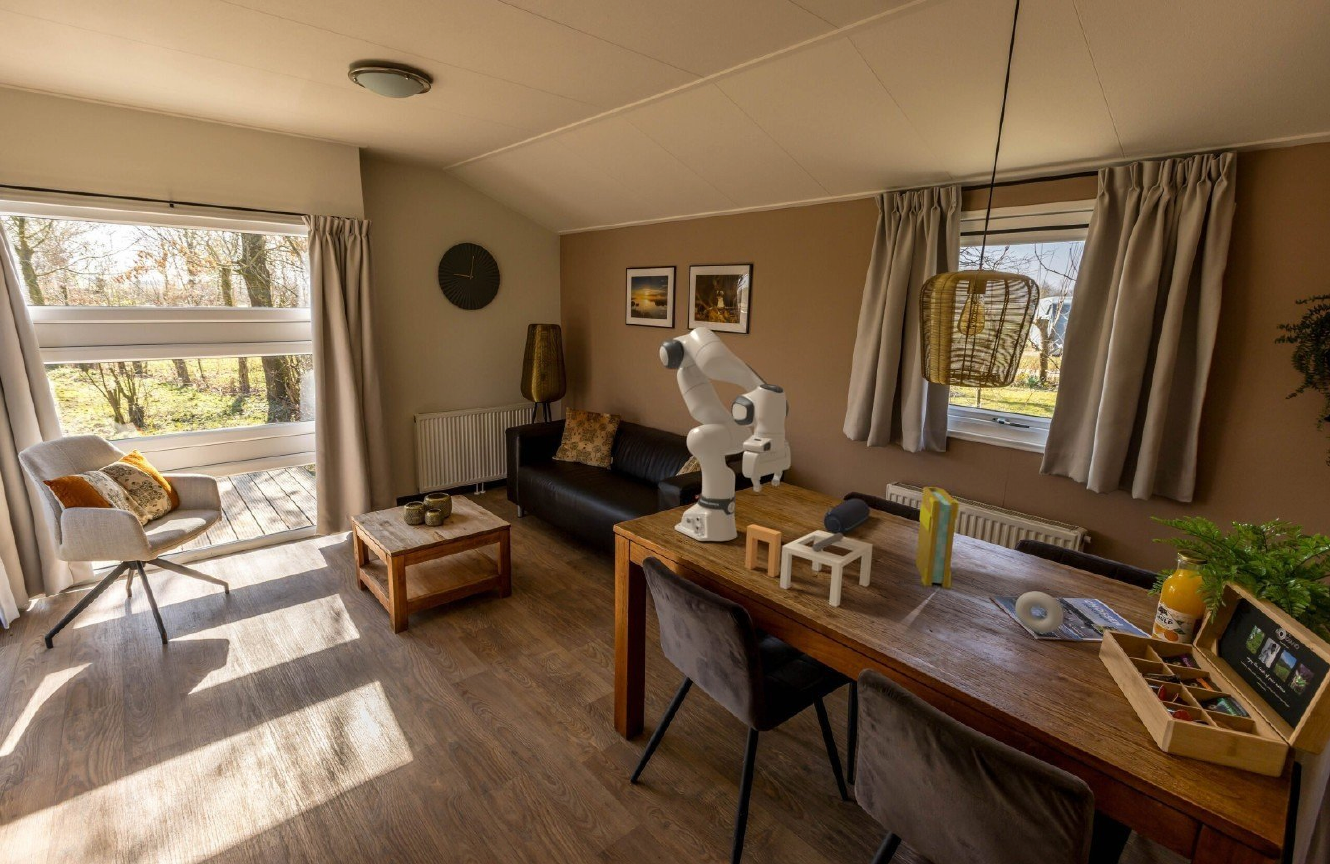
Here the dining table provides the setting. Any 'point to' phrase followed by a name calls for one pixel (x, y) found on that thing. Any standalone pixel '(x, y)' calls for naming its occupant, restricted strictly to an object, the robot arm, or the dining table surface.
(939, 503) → the book
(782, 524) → the dining table surface
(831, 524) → the portable speaker
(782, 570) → the white miniature table
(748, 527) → the orange arch
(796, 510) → the dining table surface
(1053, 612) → the donut
